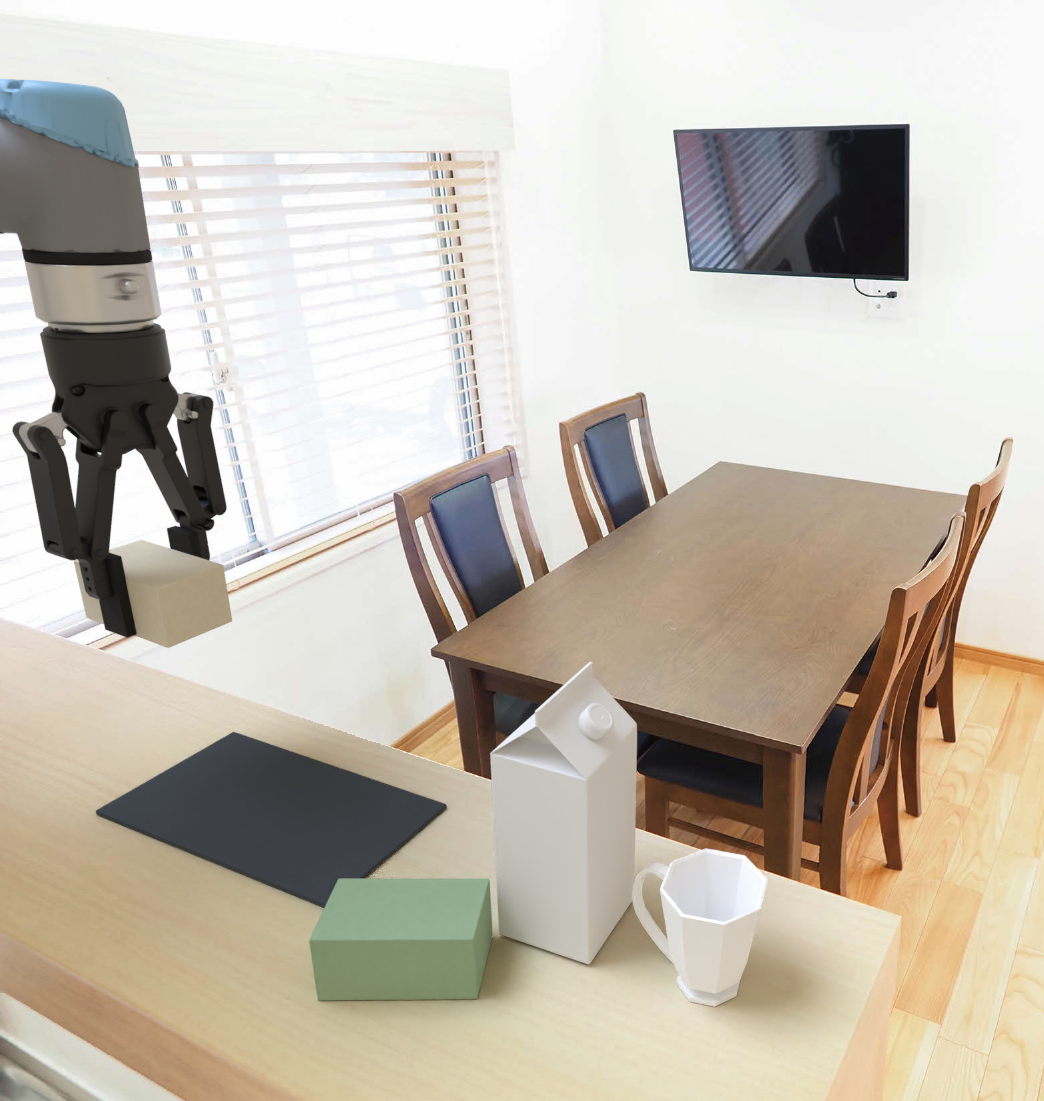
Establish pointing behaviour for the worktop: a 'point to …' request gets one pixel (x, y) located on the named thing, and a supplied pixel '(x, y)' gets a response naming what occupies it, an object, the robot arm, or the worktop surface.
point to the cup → (705, 920)
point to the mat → (275, 815)
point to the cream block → (168, 593)
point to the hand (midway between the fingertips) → (159, 616)
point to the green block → (402, 939)
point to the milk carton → (566, 820)
